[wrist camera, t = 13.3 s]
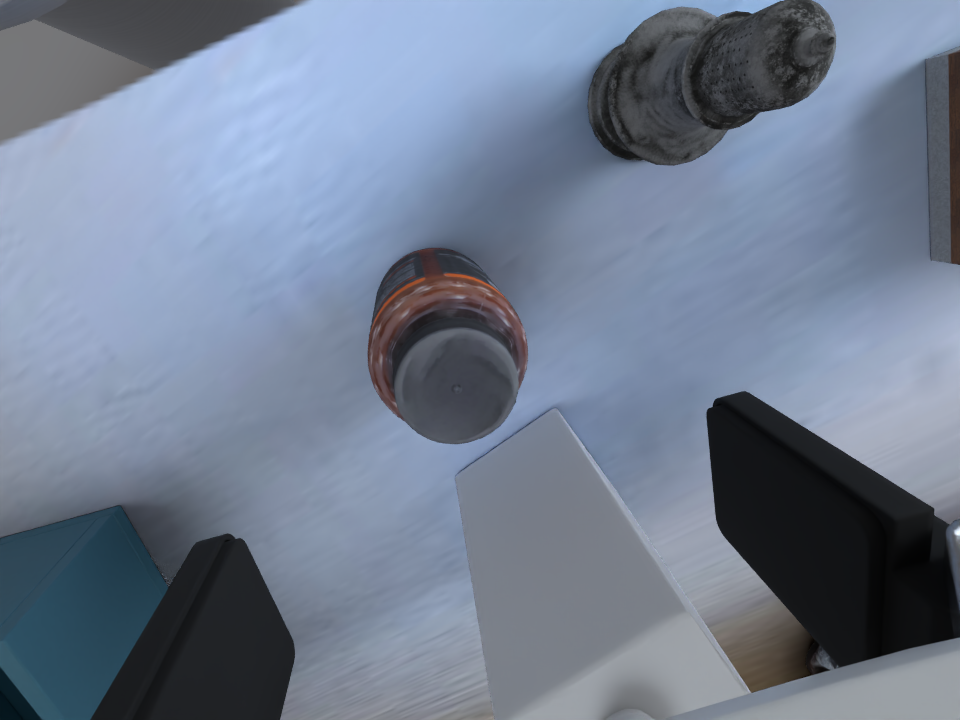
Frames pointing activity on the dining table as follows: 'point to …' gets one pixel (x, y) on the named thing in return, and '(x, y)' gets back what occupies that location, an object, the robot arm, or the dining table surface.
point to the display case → (944, 154)
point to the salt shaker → (705, 77)
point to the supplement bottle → (445, 347)
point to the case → (71, 613)
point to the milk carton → (577, 592)
